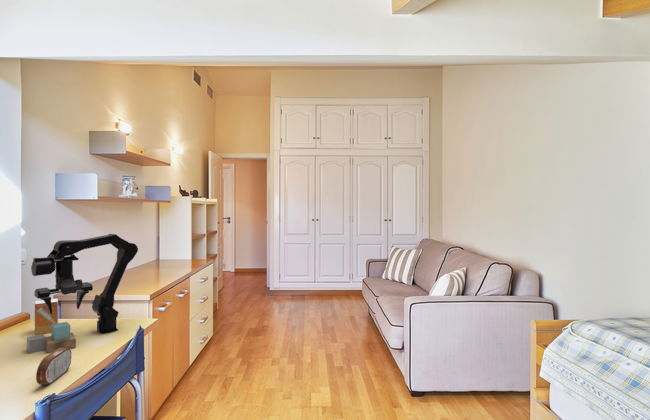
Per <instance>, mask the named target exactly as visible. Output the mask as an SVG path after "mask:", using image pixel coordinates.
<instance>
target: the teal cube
mask: <svg viewBox="0 0 650 420" xmlns="http://www.w3.org/2000/svg"><path fill="white" fill-rule="evenodd" d="M50 333H51V335H50V336H51V338H52V339H53V340H55V341H57V340H62V339H66V338H70V333H71V324H70V323H69V322H67V321H63V322H58V324H53V325H51V332H50Z"/></svg>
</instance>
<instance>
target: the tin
mask: <svg viewBox="0 0 650 420" xmlns="http://www.w3.org/2000/svg"><path fill="white" fill-rule="evenodd" d="M71 362H72V349H68V348H59V349H57V350H55V351H54V352H52V353H48V355H46V356H44V357H43V358H42V359H41V360H40V362H39V364H38V367H37V370H36V373H35V374H36V375H35V379H36V383H37V384H38V385H41V386H42V385H51V384H53V383H54V382H55V381H56V380H57V379H60V378H61V377H62V376H63V375H64V374H65V373H67V371H68V370H69V368H70V366H71V364H72V363H71Z"/></svg>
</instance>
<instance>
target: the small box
mask: <svg viewBox="0 0 650 420" xmlns="http://www.w3.org/2000/svg"><path fill="white" fill-rule="evenodd" d="M51 306H52V314H50V312H49V310H48V308H47V306H46V303H45V302H44V300H41V299H40V300H35V303H34V335H40V334H47V333H51V325H53V324H58V323H59V298H51Z"/></svg>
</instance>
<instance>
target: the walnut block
mask: <svg viewBox="0 0 650 420" xmlns="http://www.w3.org/2000/svg"><path fill="white" fill-rule="evenodd" d="M45 337H46V350H45V352H46V354H48V355H49V354H51V353H52V352H54V351H55V350H57V349H59V348H68V349H70V350H73V349H77V348H76V347H77V342H76V341H77V338H76V336H75V334H74V333H73V332H72V331H70V338H66V339H62V340H57V341H55V340H53V339H52V338H51V335H49V336H45Z"/></svg>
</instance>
